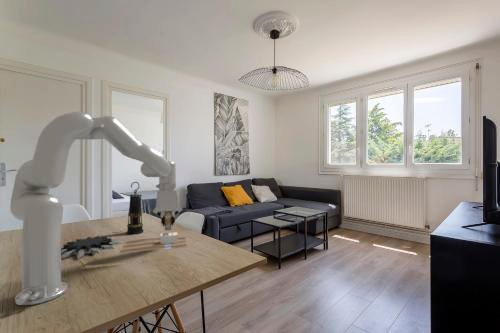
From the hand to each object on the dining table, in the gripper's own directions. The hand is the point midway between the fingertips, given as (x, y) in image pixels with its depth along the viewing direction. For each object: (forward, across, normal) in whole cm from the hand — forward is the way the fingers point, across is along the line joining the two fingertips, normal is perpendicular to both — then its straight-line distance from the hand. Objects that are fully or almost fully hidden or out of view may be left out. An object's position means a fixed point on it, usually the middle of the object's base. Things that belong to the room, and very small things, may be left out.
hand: (168, 224), depth 121 cm
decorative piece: (+12, -37, +11) cm, 40 cm away
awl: (+2, 0, 0) cm, 2 cm away
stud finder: (+10, 0, +6) cm, 12 cm away
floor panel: (+11, -6, +6) cm, 14 cm away
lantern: (+12, -20, +36) cm, 43 cm away
